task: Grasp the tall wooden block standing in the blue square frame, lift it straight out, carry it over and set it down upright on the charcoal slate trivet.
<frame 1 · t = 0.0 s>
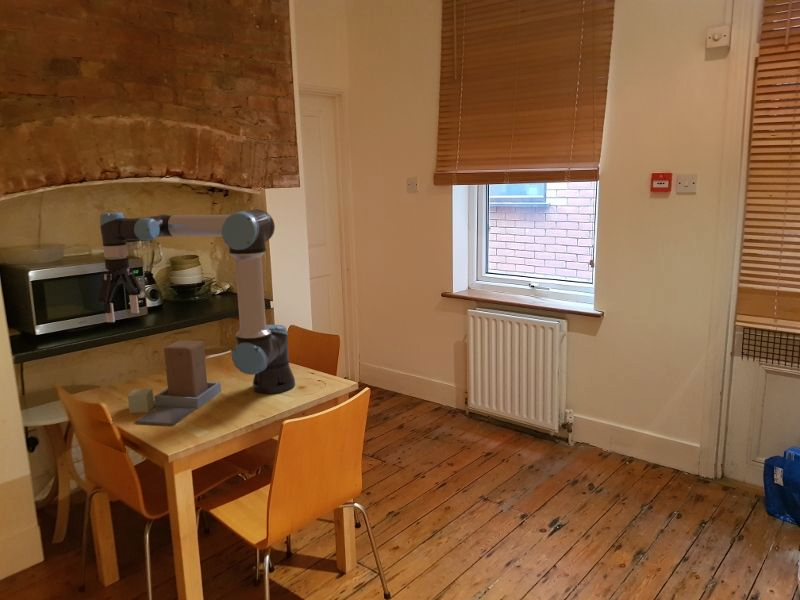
hand: (123, 317, 217), 28 cm above the table, fingers open, 13 cm apart
blue square frame: (189, 398, 215), on the table
sage cube: (142, 409, 207), on the table
trivet: (165, 416, 200), on the table
wooden block: (189, 399, 215), resting in blue square frame
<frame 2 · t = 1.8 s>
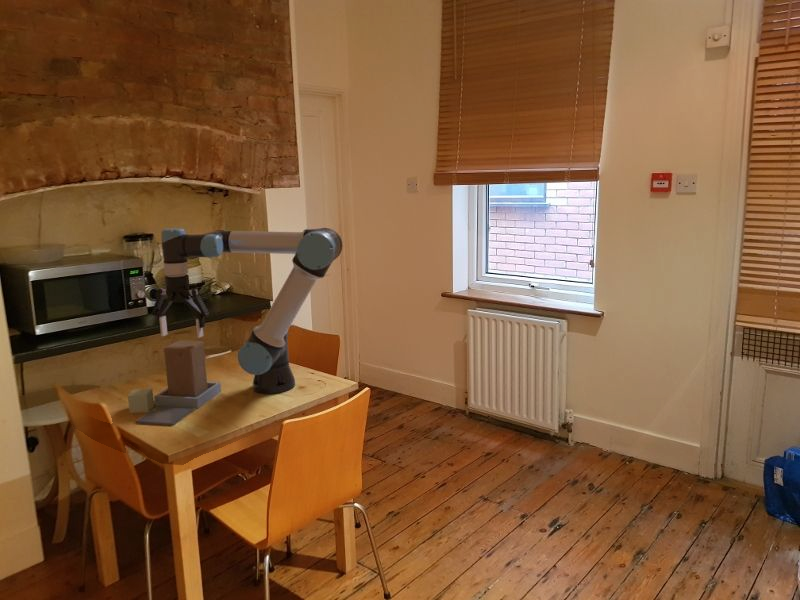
hand: (182, 336, 211), 23 cm above the table, fingers open, 13 cm apart
nothing on the table moved.
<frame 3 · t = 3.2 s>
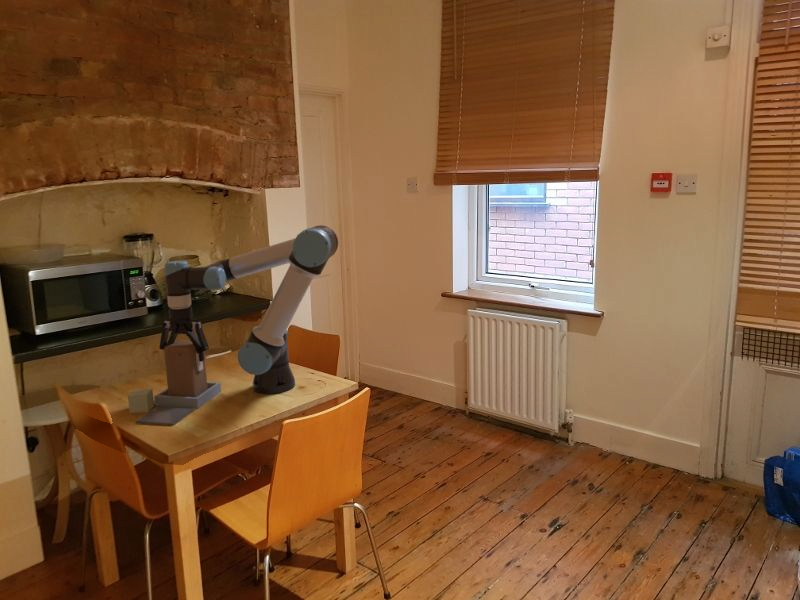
hand: (186, 369, 213), 11 cm above the table, fingers closed on wooden block, 10 cm apart
wooden block: (189, 399, 215), resting in blue square frame, touching gripper
everything else where it was.
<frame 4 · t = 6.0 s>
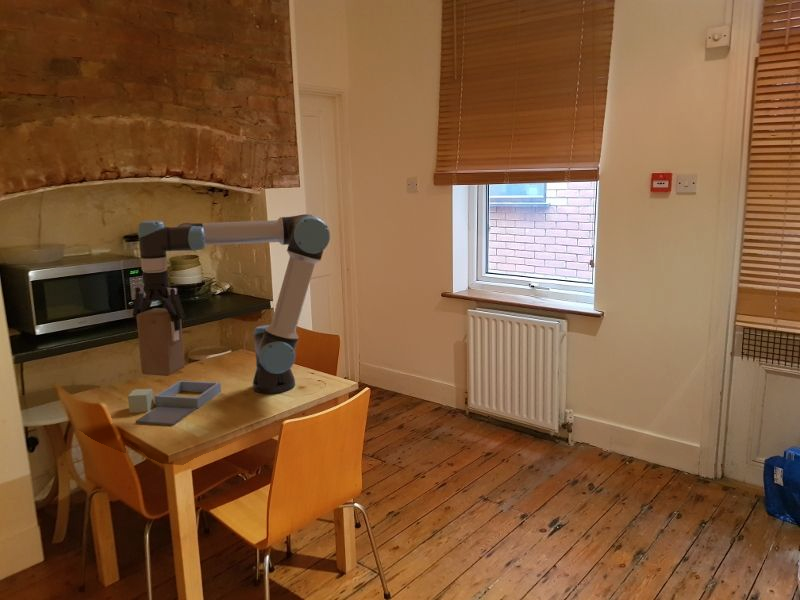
hand: (161, 339, 197), 25 cm above the table, fingers closed on wooden block, 10 cm apart
wooden block: (164, 371, 200), point 14 cm above the table, touching gripper
everything else where it was.
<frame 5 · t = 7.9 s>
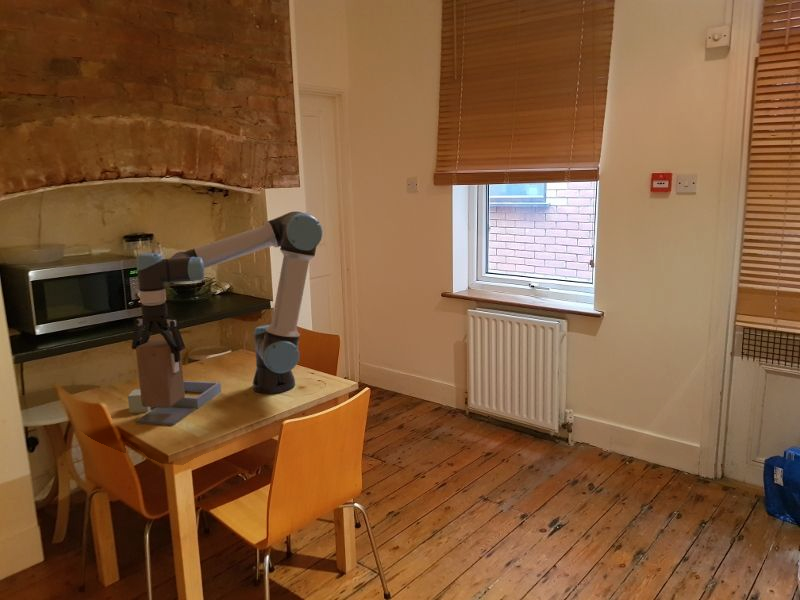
hand: (160, 370, 196), 16 cm above the table, fingers closed on wooden block, 10 cm apart
wooden block: (164, 403, 199), point 5 cm above the table, touching gripper
everything else where it was.
when the fingers open (12 cm above the table, at t = 9.1 s): wooden block stays where it is, resting on trivet.
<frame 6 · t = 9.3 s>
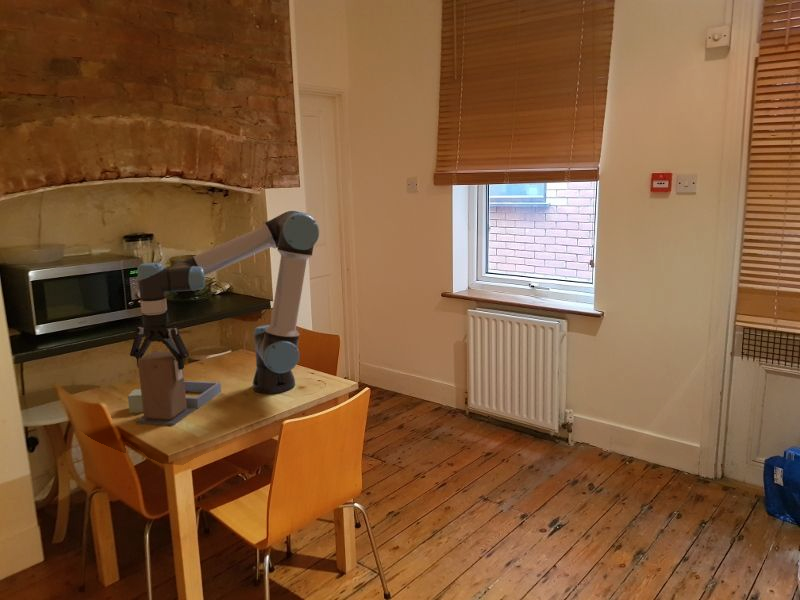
hand: (161, 378, 197), 13 cm above the table, fingers open, 12 cm apart
wooden block: (165, 414, 199), point 1 cm above the table, touching trivet
everything else where it was.
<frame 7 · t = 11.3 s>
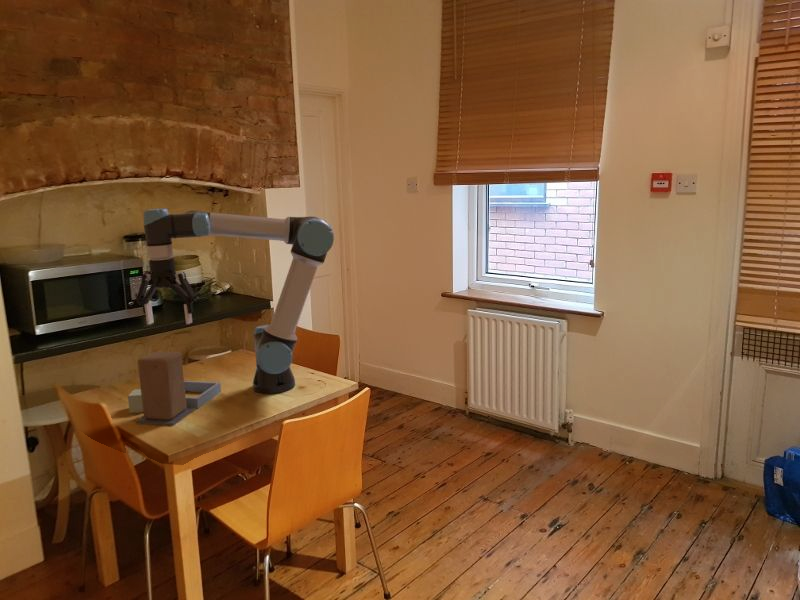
hand: (169, 323, 199), 30 cm above the table, fingers open, 13 cm apart
nothing on the table moved.
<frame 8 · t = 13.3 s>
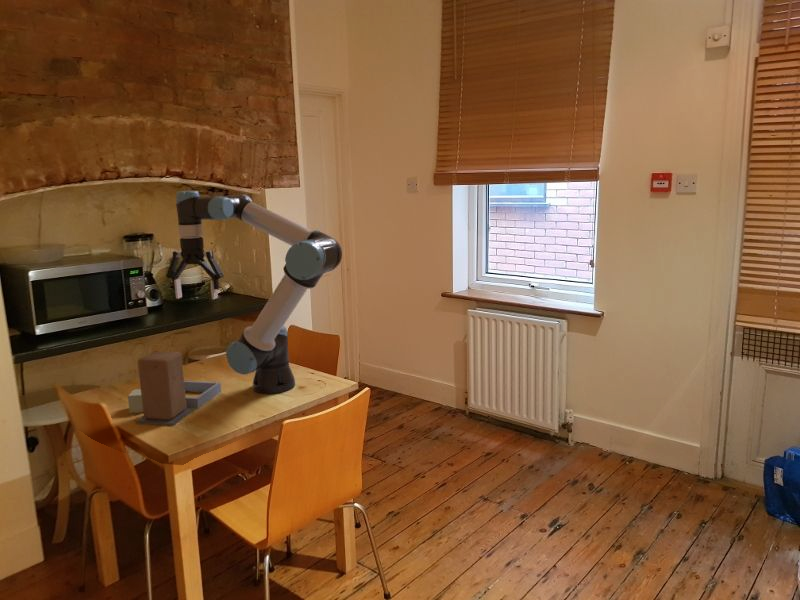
hand: (196, 298, 213), 35 cm above the table, fingers open, 13 cm apart
nothing on the table moved.
at the end: wooden block inside the target area on the trivet (0.1 cm from its centre), point 0.6 cm above the trivet's base; wooden block tilted 0°; wooden block touching trivet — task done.
